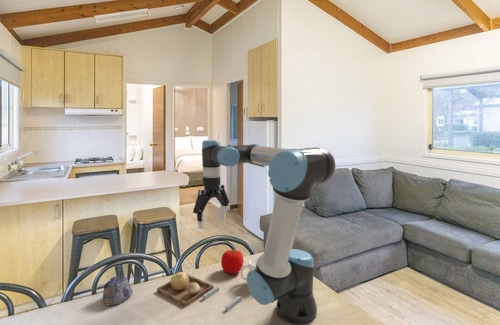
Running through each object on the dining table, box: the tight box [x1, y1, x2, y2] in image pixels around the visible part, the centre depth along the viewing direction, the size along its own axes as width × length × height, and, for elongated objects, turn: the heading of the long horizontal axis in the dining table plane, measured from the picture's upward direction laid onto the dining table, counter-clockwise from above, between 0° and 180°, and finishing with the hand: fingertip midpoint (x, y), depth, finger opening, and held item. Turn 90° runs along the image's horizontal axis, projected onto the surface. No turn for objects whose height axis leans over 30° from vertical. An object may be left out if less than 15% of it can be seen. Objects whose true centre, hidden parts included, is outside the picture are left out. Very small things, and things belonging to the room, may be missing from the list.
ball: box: [187, 282, 200, 295], centre depth 123 cm, size 5×5×5 cm
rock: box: [102, 276, 134, 306], centre depth 120 cm, size 11×10×10 cm
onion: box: [169, 271, 189, 290], centre depth 128 cm, size 8×8×7 cm
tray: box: [156, 273, 215, 308], centre depth 126 cm, size 18×16×2 cm
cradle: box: [202, 286, 242, 312], centre depth 119 cm, size 13×8×2 cm, turn 54°
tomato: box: [221, 249, 244, 275], centre depth 142 cm, size 10×11×11 cm
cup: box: [240, 257, 259, 281], centre depth 131 cm, size 8×12×10 cm
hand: (212, 224), depth 130 cm, fingers open, 13 cm apart
